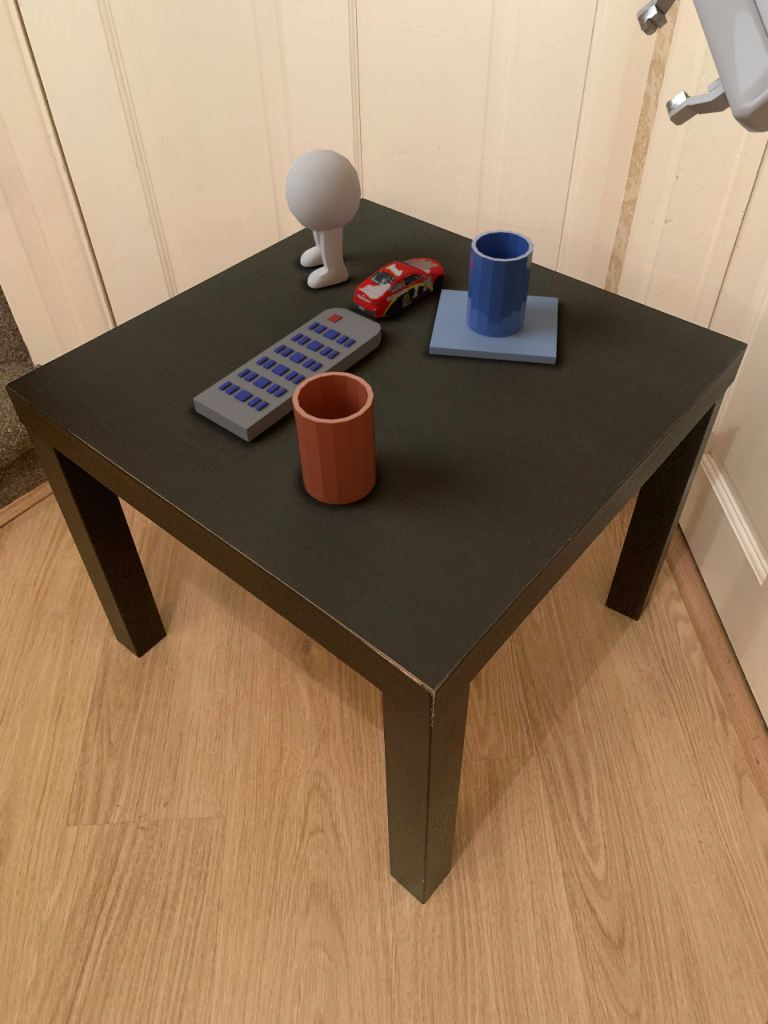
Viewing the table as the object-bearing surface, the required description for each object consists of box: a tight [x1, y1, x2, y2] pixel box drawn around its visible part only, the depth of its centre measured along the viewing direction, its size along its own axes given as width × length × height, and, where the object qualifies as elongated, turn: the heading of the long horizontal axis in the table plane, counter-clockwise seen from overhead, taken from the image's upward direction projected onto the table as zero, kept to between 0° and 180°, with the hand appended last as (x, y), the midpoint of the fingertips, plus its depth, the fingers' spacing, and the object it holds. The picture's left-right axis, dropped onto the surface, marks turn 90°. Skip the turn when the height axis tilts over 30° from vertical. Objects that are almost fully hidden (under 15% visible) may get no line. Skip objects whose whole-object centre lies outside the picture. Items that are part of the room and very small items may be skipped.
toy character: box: [285, 148, 362, 289], centre depth 96 cm, size 9×9×15 cm
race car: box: [352, 257, 446, 319], centre depth 96 cm, size 13×5×4 cm, turn 134°
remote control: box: [192, 307, 382, 443], centre depth 87 cm, size 8×23×2 cm, turn 141°
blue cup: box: [466, 229, 535, 338], centre depth 88 cm, size 7×7×10 cm
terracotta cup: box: [292, 371, 378, 506], centre depth 72 cm, size 7×7×10 cm
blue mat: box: [428, 288, 559, 365], centre depth 92 cm, size 14×12×1 cm
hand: (656, 70), depth 67 cm, fingers open, 8 cm apart
